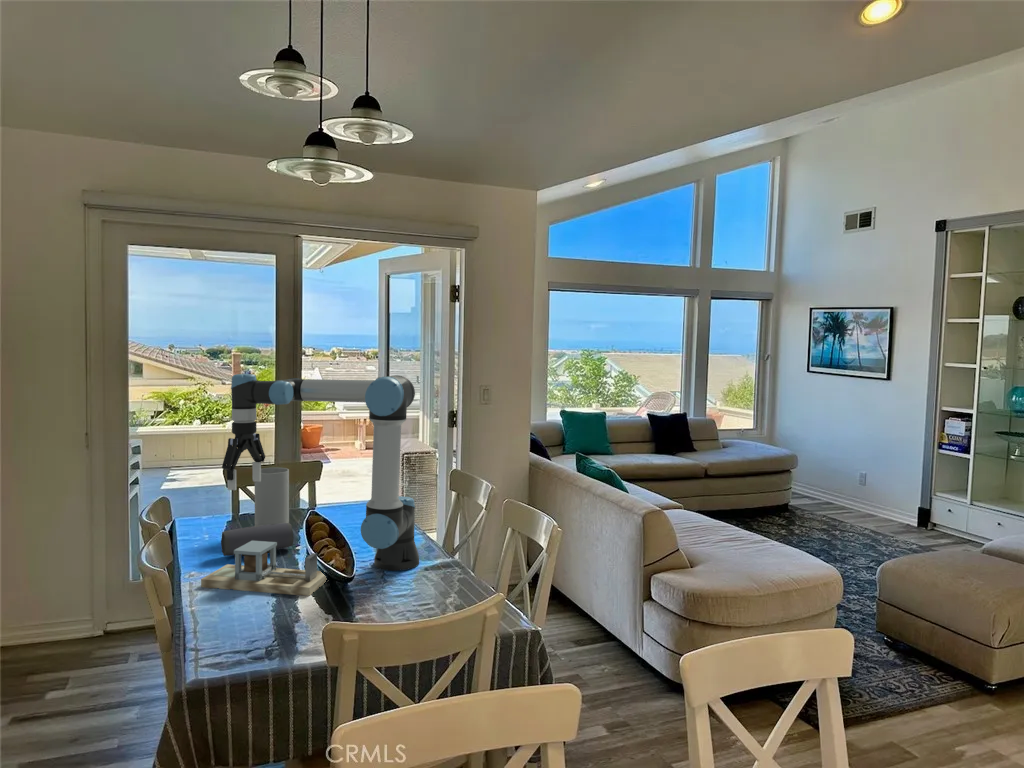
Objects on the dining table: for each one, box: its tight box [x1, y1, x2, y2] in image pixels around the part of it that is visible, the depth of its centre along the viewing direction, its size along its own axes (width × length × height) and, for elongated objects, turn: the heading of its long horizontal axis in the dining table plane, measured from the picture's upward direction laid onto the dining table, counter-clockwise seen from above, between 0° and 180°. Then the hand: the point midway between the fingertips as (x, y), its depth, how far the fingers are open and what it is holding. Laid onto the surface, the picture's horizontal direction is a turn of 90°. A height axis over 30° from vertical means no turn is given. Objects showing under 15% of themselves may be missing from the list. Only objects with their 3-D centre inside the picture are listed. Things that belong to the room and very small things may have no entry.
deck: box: [200, 563, 327, 597], centre depth 209 cm, size 35×14×3 cm, turn 81°
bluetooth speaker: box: [220, 522, 295, 558], centre depth 237 cm, size 23×9×10 cm, turn 123°
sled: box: [241, 552, 318, 581], centre depth 208 cm, size 24×6×7 cm, turn 81°
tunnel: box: [234, 541, 277, 581], centre depth 209 cm, size 9×10×9 cm
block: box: [243, 552, 269, 573], centre depth 209 cm, size 5×5×6 cm
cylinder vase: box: [254, 467, 290, 526], centre depth 260 cm, size 12×12×25 cm
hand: (244, 485), depth 222 cm, fingers open, 13 cm apart
